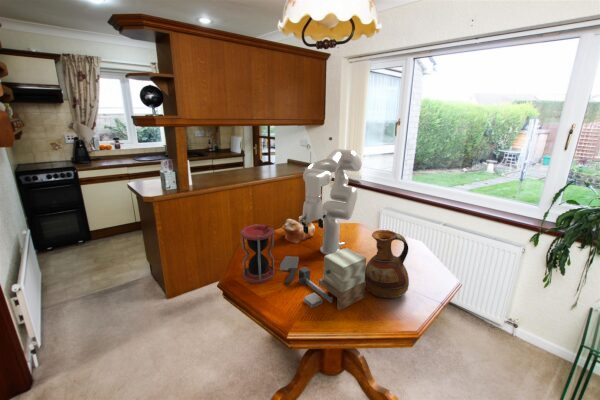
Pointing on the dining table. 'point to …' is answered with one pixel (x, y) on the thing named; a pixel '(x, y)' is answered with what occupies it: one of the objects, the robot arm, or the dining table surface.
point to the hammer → (305, 279)
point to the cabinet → (344, 276)
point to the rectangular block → (313, 300)
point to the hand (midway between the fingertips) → (313, 230)
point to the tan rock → (297, 231)
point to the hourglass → (258, 253)
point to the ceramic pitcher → (387, 267)
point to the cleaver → (289, 268)
